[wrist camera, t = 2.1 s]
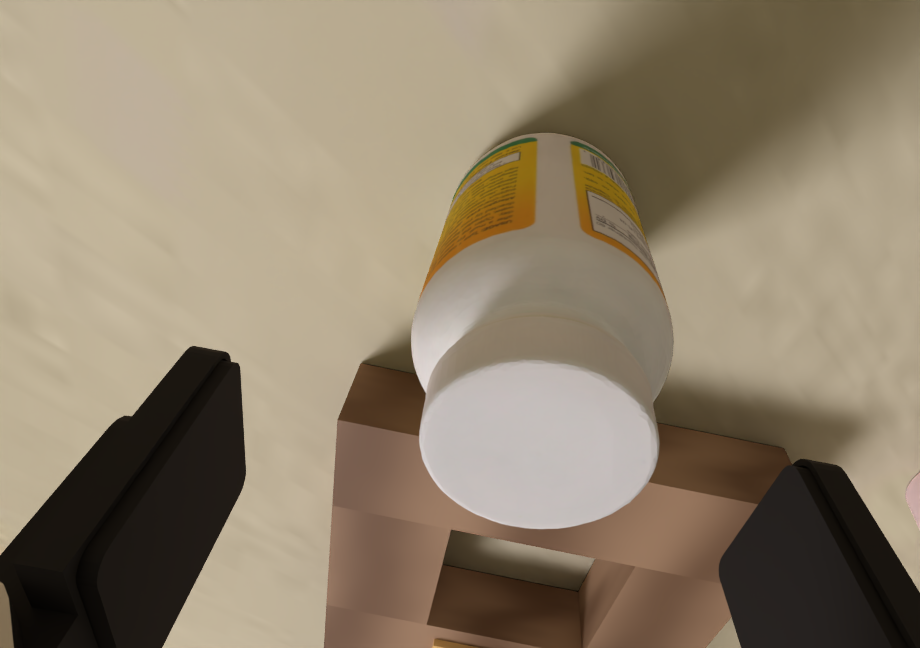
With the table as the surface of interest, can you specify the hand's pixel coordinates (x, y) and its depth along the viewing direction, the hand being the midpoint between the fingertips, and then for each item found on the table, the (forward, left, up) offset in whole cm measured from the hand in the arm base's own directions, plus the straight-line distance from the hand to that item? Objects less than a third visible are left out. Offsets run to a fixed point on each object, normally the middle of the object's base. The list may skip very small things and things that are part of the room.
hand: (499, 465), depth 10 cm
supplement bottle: (-1, -1, -10) cm, 10 cm away
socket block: (-4, +14, -9) cm, 18 cm away
